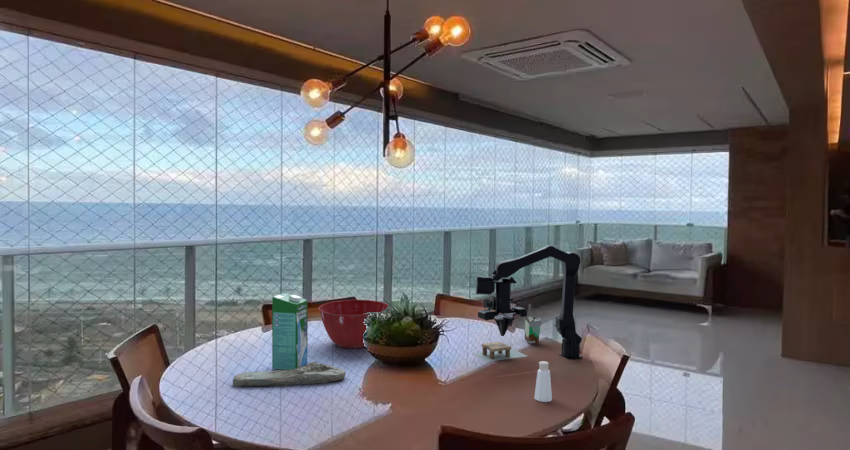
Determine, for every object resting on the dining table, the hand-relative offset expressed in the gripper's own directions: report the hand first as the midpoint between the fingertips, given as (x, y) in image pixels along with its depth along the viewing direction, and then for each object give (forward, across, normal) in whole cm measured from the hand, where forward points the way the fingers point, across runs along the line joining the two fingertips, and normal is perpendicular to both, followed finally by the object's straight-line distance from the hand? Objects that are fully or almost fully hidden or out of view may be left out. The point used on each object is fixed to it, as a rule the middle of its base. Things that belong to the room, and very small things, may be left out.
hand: (502, 335), depth 202 cm
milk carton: (+8, +76, -18) cm, 78 cm away
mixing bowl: (+8, +47, -37) cm, 60 cm away
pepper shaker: (+8, +13, +42) cm, 45 cm away
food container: (+8, -23, -12) cm, 27 cm away
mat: (+8, +1, 0) cm, 8 cm away
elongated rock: (+8, +79, -2) cm, 79 cm away
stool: (+5, -1, 0) cm, 5 cm away
